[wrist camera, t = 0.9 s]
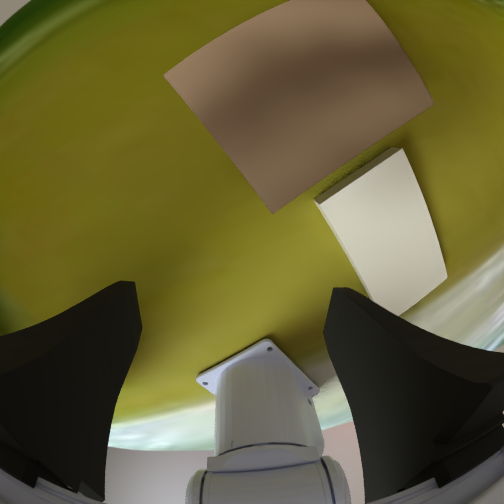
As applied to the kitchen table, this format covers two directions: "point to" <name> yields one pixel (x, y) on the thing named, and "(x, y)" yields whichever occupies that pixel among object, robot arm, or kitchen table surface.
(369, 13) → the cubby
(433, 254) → the tile
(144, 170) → the kitchen table surface
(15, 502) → the robot arm
